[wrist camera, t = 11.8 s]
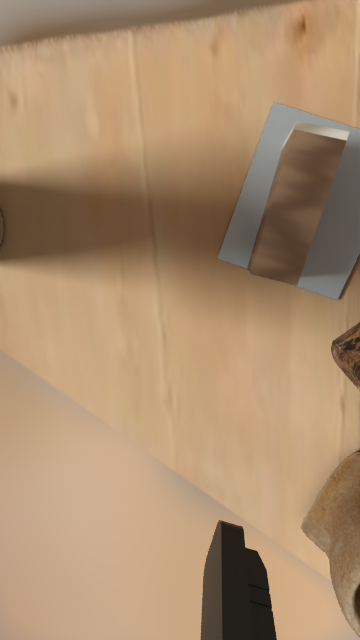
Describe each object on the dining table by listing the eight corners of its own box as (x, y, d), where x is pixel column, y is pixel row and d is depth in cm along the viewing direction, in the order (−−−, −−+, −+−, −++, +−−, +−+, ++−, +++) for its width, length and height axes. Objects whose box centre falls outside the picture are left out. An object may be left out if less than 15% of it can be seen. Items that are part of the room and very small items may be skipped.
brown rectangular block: (251, 273, 28) (296, 120, 25) (247, 267, 34) (283, 142, 30) (297, 285, 28) (349, 131, 24) (285, 277, 33) (326, 152, 30)
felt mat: (217, 258, 34) (217, 258, 34) (272, 104, 30) (273, 101, 30) (335, 299, 34) (337, 300, 33) (408, 147, 30) (411, 145, 29)
